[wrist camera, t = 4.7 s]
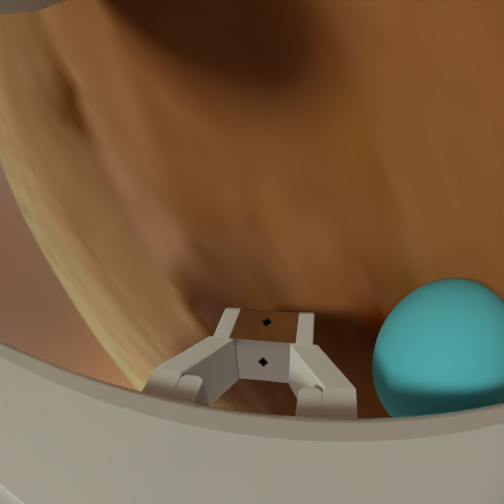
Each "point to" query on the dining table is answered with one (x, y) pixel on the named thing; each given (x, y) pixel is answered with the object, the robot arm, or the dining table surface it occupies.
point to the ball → (441, 350)
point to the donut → (25, 5)
